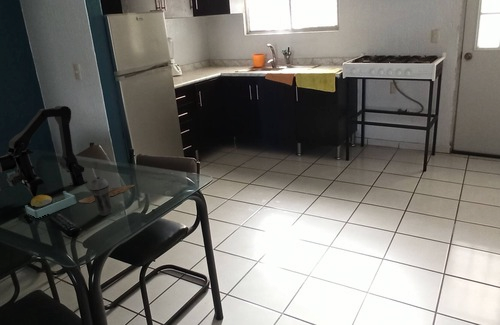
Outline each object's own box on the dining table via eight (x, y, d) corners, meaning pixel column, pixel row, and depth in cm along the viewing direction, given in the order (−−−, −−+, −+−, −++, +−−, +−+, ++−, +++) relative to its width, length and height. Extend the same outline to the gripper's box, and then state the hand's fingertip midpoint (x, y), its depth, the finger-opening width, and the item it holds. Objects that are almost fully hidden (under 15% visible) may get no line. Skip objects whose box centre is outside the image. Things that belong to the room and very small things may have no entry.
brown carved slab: (80, 206, 178) (80, 204, 177) (76, 199, 187) (76, 197, 186) (138, 189, 190) (138, 187, 189) (131, 183, 199) (131, 181, 198)
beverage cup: (118, 209, 169) (107, 164, 163) (107, 217, 163) (95, 170, 156) (104, 208, 172) (93, 164, 165) (93, 216, 165) (80, 170, 159)
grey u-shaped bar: (27, 214, 176) (24, 205, 175) (67, 198, 188) (64, 190, 187) (36, 219, 169) (33, 210, 168) (77, 203, 182) (74, 194, 180)
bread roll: (44, 199, 192) (41, 191, 191) (55, 201, 187) (53, 193, 186) (27, 206, 186) (24, 198, 184) (38, 209, 181) (35, 200, 180)
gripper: (-2, 168, 186) (9, 199, 191) (13, 174, 174) (24, 207, 179) (23, 160, 194) (33, 190, 199) (39, 165, 181) (49, 197, 186)
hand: (34, 196), depth 190 cm, fingers closed
